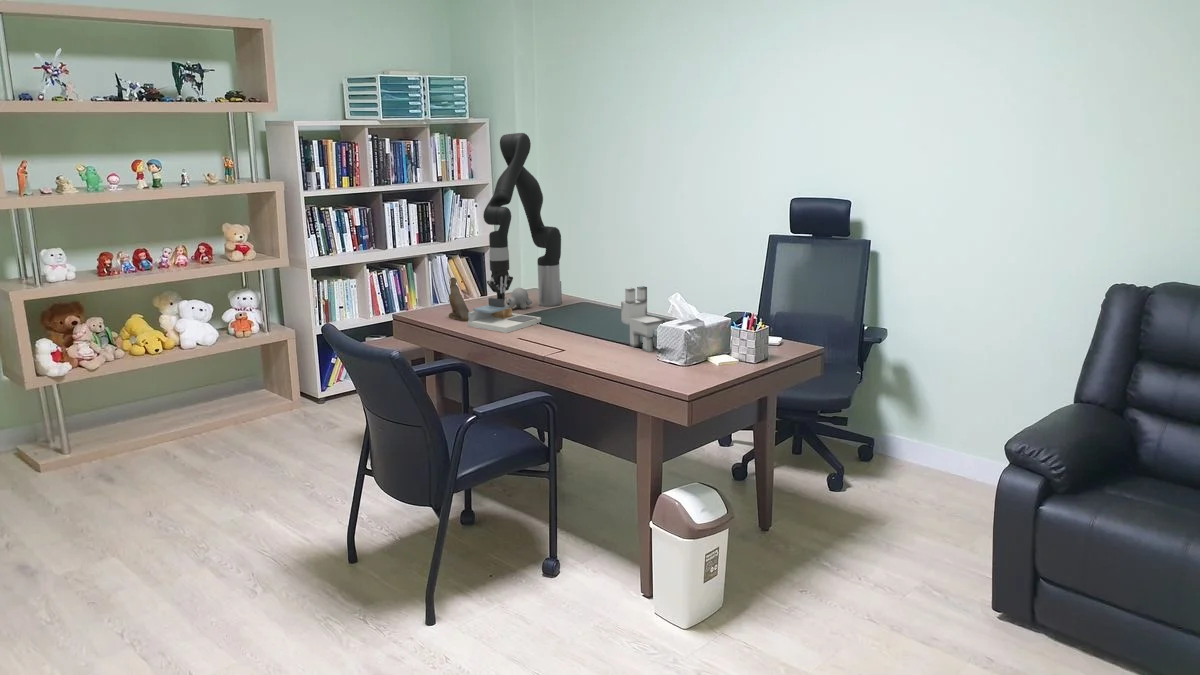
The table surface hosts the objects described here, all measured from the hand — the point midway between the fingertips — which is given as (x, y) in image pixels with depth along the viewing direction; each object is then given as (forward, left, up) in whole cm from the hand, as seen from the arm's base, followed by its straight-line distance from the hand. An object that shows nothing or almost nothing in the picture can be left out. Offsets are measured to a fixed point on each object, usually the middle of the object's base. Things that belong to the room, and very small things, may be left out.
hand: (501, 302), depth 343 cm
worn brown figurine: (+5, -17, -8) cm, 20 cm away
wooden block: (-1, 0, -8) cm, 8 cm away
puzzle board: (+3, +5, -8) cm, 9 cm away
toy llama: (+1, +69, -8) cm, 69 cm away
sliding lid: (+6, 0, -2) cm, 7 cm away
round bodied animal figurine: (-21, -11, -8) cm, 24 cm away
